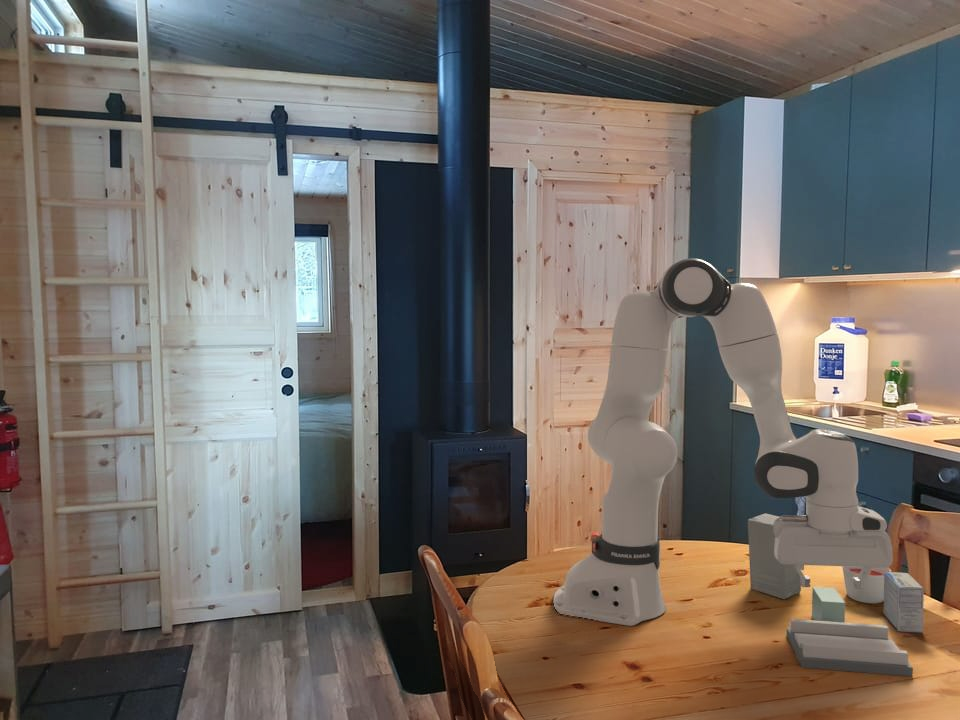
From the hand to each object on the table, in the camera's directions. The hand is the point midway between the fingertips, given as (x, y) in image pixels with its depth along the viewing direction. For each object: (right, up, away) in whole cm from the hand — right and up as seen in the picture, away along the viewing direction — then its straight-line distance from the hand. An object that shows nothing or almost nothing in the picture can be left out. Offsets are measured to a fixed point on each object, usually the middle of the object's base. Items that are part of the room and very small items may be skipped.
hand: (831, 587), depth 138 cm
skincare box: (-4, -6, +16) cm, 18 cm away
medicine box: (+14, -7, 0) cm, 16 cm away
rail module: (-1, -7, 0) cm, 7 cm away
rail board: (-3, -8, -11) cm, 14 cm away
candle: (+13, -6, +13) cm, 19 cm away
